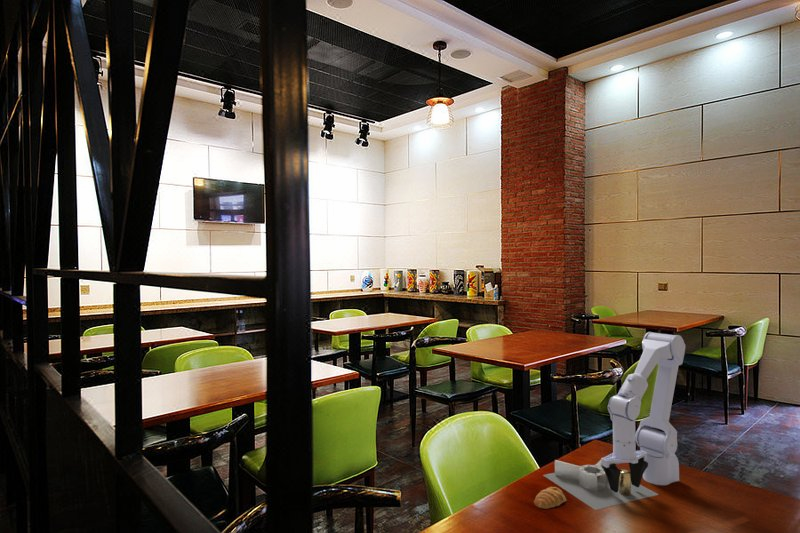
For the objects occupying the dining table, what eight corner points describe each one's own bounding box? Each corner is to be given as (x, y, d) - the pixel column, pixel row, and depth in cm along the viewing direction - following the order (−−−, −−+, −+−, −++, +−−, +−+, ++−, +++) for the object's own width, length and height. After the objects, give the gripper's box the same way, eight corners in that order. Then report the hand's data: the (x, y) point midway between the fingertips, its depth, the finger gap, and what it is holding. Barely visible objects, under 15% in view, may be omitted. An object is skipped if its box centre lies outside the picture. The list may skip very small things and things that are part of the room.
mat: (600, 466, 152) (600, 463, 152) (658, 498, 131) (658, 494, 131) (542, 478, 144) (542, 475, 144) (595, 513, 124) (595, 509, 124)
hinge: (595, 466, 149) (594, 452, 149) (628, 484, 137) (627, 469, 137) (554, 474, 144) (553, 460, 144) (584, 494, 132) (584, 478, 132)
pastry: (549, 516, 123) (548, 502, 123) (527, 507, 128) (526, 492, 128) (568, 504, 129) (568, 490, 129) (546, 495, 134) (546, 482, 134)
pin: (624, 489, 134) (624, 468, 134) (633, 494, 131) (633, 473, 131) (616, 491, 133) (616, 470, 133) (625, 496, 130) (624, 474, 130)
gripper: (614, 448, 126) (615, 499, 126) (656, 440, 131) (656, 489, 131) (595, 439, 132) (596, 487, 132) (635, 432, 137) (636, 479, 137)
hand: (624, 488), depth 132 cm, fingers open, 7 cm apart
